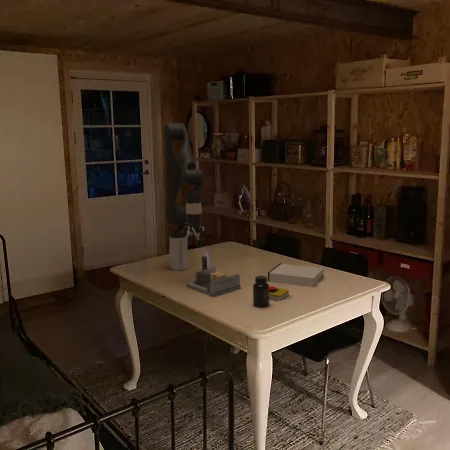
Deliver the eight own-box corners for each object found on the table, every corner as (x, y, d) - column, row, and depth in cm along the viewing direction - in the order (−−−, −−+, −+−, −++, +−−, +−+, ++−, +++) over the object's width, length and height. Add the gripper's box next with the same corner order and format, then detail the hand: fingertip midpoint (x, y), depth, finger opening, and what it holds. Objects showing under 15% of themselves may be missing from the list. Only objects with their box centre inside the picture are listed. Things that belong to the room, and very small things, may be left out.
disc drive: (280, 272, 260) (280, 262, 259) (323, 277, 250) (323, 267, 249) (267, 282, 245) (267, 272, 244) (313, 288, 235) (313, 277, 234)
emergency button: (264, 282, 231) (294, 287, 223) (264, 291, 232) (293, 297, 224) (253, 288, 223) (284, 294, 215) (253, 297, 224) (284, 303, 216)
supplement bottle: (268, 301, 218) (268, 274, 215) (270, 307, 211) (270, 279, 209) (252, 302, 218) (252, 275, 215) (253, 307, 211) (253, 280, 208)
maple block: (210, 286, 234) (210, 273, 233) (219, 283, 238) (218, 271, 236) (218, 288, 231) (217, 276, 229) (226, 286, 234) (225, 273, 233)
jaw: (193, 283, 238) (192, 258, 236) (213, 278, 246) (212, 253, 243) (196, 284, 236) (195, 259, 234) (216, 279, 244) (215, 254, 242)
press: (186, 286, 239) (186, 273, 238) (212, 279, 250) (212, 266, 248) (214, 297, 224) (214, 282, 223) (240, 288, 235) (240, 275, 234)
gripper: (209, 213, 237) (210, 247, 240) (190, 209, 247) (191, 242, 251) (197, 215, 232) (198, 250, 235) (178, 211, 242) (179, 244, 246)
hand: (194, 246), depth 243 cm, fingers open, 7 cm apart
